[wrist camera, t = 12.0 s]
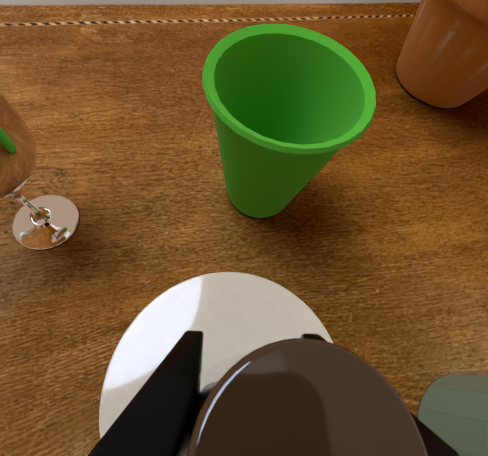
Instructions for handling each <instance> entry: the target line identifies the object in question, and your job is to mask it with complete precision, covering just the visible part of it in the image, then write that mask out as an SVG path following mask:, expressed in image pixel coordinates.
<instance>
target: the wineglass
mask: <svg viewBox="0 0 488 456" xmlns="http://www.w3.org/2000/svg"><path fill="white" fill-rule="evenodd" d="M36 156H37V152H36V146H35V142H34V139H33V136H32V134H31V132H30V130H29V128H28V126H27V124H26V123H25V121H24V120H23V118H22V117H21V116H20V114H19V113H18V112H17V111H16V109H15V108H14V107H13V106H12V105H11V104H10V103H9V101H8V100H7V99H6V98H5V97H4V96H3V95H2V94H1V93H0V200H2V199H5V198H7V197H8V198H12V199H14V200H15V201H17V202H19V203H21V204H22V205H23V206H22V207H21V208H20V209H19V210H18V212H17V213H16V215H15V217H14V219H13V223H12V232H13V235H14V237H15V239H16V240H17V241H18V243H20V244H21V245H22V246H24V247H26V248H29V249H33V250H46V249H50V248H53V247H56V246H58V245H60V244H62V243H64V242H65V241H66V240H68V239H69V238H70V237H71V236H72V235H73V233H74V232H75V230H76V228H77V226H78V223H79V212H78V209H77V207H76V205H75V204H74V203H73V202H72V201H71V200H69V199H68V198H66V197H63V196H60V195H44V196H40V197H37V198H34V199H32V200H30V201H29V200H28V199H27V198H26V197H25V195H24V193H23V191H22V189H21V187H22V186H23V185H24V184H25V183H26V182H27V181H28V179H29V178H30V176H31V174H32V172H33V170H34V168H35V163H36Z"/></svg>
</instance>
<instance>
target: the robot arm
mask: <svg viewBox="0 0 488 456" xmlns="http://www.w3.org/2000/svg"><path fill="white" fill-rule="evenodd" d="M203 337H204V333H203V332H202V331H191V330H189V331H186V332H185V333H184V334H183V335H182V337H181V338H180V339H179V340H178V342H177V343H176V344H175V346H174V347H173V348H172V349H171V351H170V352H169V353H168V354H167V356H166V357H165V358H164V359H163V361H162V362H161V363H160V365H159V366H158V367H157V368H156V370H155V371H154V372H153V373H152V375H151V376H150V377H149V378H148V380H147V381H146V382H145V384H144V385H143V386H142V387H141V389H140V390H139V391H138V392H137V394H136V395H135V396H134V397H133V399H132V400H131V401H130V403H129V404H128V405H127V406H126V408H125V409H124V410H123V411H122V413H121V414H120V415H119V416H118V418H117V419H116V420H115V422H114V423H113V424H112V425H111V427H110V428H109V429H108V430H107V432H106V433H105V434H104V435H103V437H102V438H101V439H100V441H99V442H98V443H97V444H96V446H95V447H94V448H93V449H92V451H91V452H90V453H89V454H88V456H187V451H188V445H189V440H190V435H191V431H192V426H193V421H194V416H195V411H196V407H197V403H198V399H199V395H200V385H201V371H202V355H203ZM300 338H310V339H317V340H323V341H326V340H325V339H324V338H323V337H321V336H320V335H319V334H308V333H304V334H302V335H301V337H300ZM326 342H327V341H326ZM410 413H411V412H410ZM411 415H412V417H413V419H414V420H415V422H416V424H417V427H418V429H419V431H420V434H421V436H422V439H423V441H424V444H425V447H426V450H427V454H428V456H459V455H458V453H457V451H455V450H454V449H453V448H452V447H451V446H449V445H448V444H447V443H446V442H445V441H444V440H442V439H441V438H440V437H439V436H438V435H437V434H435V433H434V432H433V431H432V430H431V429H429V428H428V427H427V426H426V425H425V424H424V423H422V422H421V421H420V420H419V419H418V418H417V417H415V416H414V415H413V414H412V413H411Z"/></svg>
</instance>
